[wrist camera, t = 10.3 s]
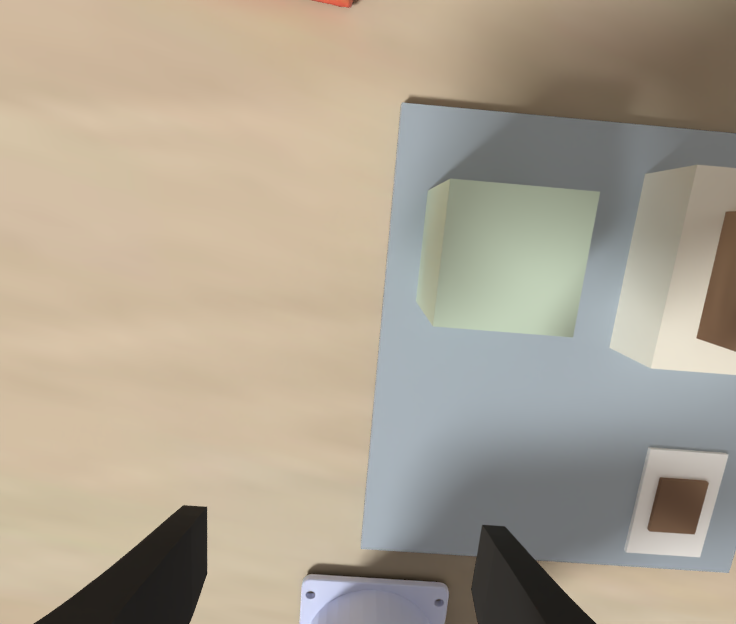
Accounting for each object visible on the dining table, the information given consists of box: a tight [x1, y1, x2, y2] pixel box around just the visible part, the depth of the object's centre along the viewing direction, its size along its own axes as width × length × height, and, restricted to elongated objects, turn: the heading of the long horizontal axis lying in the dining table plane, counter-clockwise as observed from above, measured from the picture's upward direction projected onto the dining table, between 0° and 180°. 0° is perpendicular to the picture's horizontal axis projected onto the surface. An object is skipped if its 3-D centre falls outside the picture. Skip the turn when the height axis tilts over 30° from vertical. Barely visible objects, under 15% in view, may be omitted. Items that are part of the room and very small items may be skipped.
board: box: [361, 103, 736, 573], centre depth 21 cm, size 22×20×1 cm
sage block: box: [416, 179, 600, 337], centre depth 17 cm, size 5×5×5 cm
